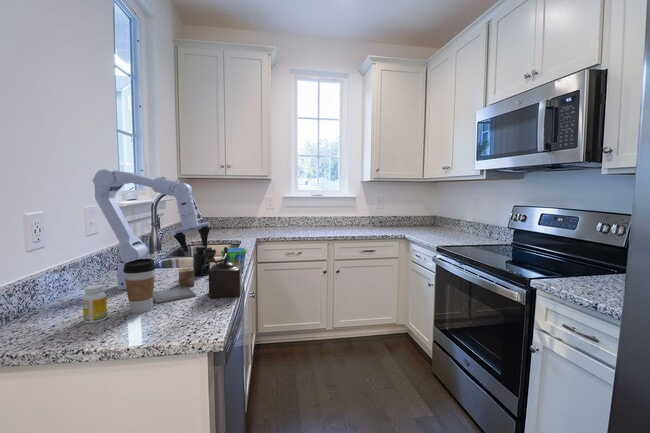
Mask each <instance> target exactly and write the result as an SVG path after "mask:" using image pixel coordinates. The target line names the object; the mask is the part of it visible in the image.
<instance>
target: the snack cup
mask: <svg viewBox="0 0 650 433" xmlns="http://www.w3.org/2000/svg"><path fill="white" fill-rule="evenodd" d="M227 248H228V247H227ZM227 251H228V253H227V261H228V262H231V263H234V264H242V266H241V269H242V273H243V272H244V268H245V260H246V254H247V248H245V247H229V248H228V250H227ZM220 253H221V255H222V257H223V256H224V248H223V249H221V252H220Z"/></svg>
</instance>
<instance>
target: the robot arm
mask: <svg viewBox="0 0 650 433" xmlns="http://www.w3.org/2000/svg"><path fill="white" fill-rule="evenodd" d="M92 183H93V184H94V198H95V201H96V202H97V205H98V207H99V208H100V210H101V212H102V214H103V215H104V217H105V219H106V220H107V223H109V226H110V227H111V230H112V231H113V233H114V235H115V237H116V239H117V240H118V241H119V242H118V247H117V249H118V251H119V257H120V260H121V261H122V262H123V263H119V264H117V270H116V271H117V272H116V273H117V290H118V291H121V290H127V288H126V282H125V278H126V277H125V273H124V272H123V269H124V264H125V263H127V262H130V261H134V260H137V259H144V258H147V256H148V254H149V248H148V246H147V245H146V244H145V243H144V242H143V241H142V240H141V239H140V237H138V236H136V235H135V233H134V232H133V230H132V228H131V226H130V224H129V222H128V220H127V219H126V217H125V215H124V214H123V211H122V210H121V208H120V206H119V205H118V203H117V201H116V199H115V198H116V195H117V193H118V191H120V189H122V188H123V187H124V186H125V185H129V184H134V185H139V186H142V187H143V186H144V187H148V188H151V189H152V190H153V191H154V193H159V194H161V195H166V196H171V197H174V198H175V201H176V203H177V204H176V205H177V208H178V209H177V210H178V213H179V217H180V223H181V227H178V228H174V229H170V235H171V236H173V237H174V239H175V240H176V241H177V242H178V244H179V245H180V247H181V248H182V249H183V250H182V251H183V252H184V253H188V252H189V249H188V246H187V245H188V244H187V240H186V239H187V238H186V234H184V233H188V232H191V231H196V230H197V231H198V233H199V235H200V238H201V243H202V246H203V247H206V246H207V247H208V239H209V238H208V237H209V233H210V230H211V229H210V227H211V223H210V221H204V222H200V223H199V221H198V217H197V211H196V208H195V203H194V199H193V187H192V186H191V185H190V184H188V183H186V182H181V183H180V180H177V179H176V180H173V179H172V180H171V179H168V178H167V177H166V176H161V177H160V176H158V177H155V178H150V177H146V176H144V175H141V174H137V173H134V172H133V173H132V172H127V171H119V170H108V169H101V170H98V171H97V172H96V173H95V175H94V176H93V179H92Z"/></svg>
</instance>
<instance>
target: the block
mask: <svg viewBox="0 0 650 433" xmlns="http://www.w3.org/2000/svg"><path fill="white" fill-rule="evenodd" d="M178 285H179V286H178V287H183V286H188V287H189V288H190V287H195V275H194V270H193V267H186V268H179V269H178Z"/></svg>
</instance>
